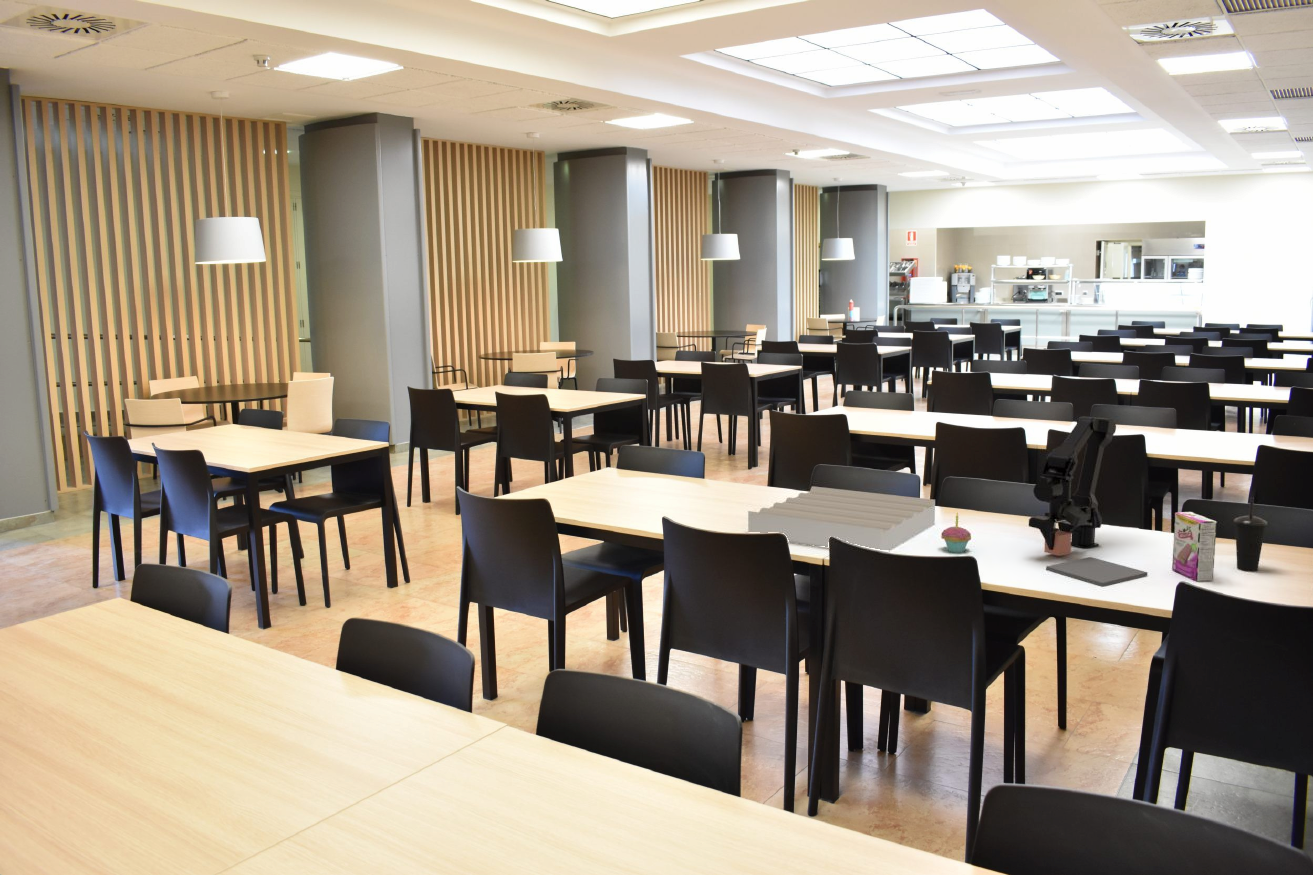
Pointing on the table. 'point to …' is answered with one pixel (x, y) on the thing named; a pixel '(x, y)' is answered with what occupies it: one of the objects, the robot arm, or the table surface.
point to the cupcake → (956, 537)
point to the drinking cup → (1249, 540)
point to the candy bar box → (1194, 546)
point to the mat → (1096, 571)
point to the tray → (846, 518)
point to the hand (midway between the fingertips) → (1057, 548)
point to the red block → (1060, 544)
